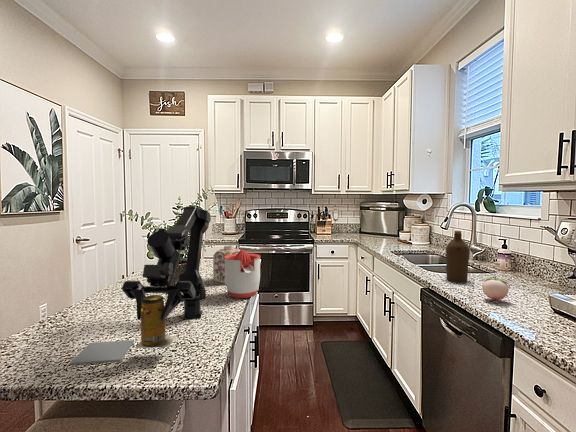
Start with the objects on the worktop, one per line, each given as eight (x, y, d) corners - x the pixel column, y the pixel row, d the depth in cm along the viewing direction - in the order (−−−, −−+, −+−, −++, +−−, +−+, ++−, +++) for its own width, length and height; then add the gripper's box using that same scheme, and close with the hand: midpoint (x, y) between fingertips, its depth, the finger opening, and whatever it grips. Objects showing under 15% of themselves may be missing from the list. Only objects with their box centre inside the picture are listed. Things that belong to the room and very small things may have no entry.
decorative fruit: (482, 302, 135) (482, 277, 134) (481, 296, 142) (481, 273, 142) (510, 305, 131) (510, 280, 130) (507, 299, 138) (508, 275, 137)
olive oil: (473, 282, 167) (474, 231, 165) (454, 283, 165) (455, 232, 164) (459, 277, 177) (460, 229, 176) (440, 278, 175) (441, 230, 174)
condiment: (146, 336, 93) (145, 293, 92) (177, 336, 93) (176, 293, 92) (134, 348, 85) (133, 302, 85) (168, 348, 86) (167, 302, 85)
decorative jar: (212, 281, 170) (212, 245, 169) (230, 277, 179) (230, 243, 178) (228, 285, 162) (227, 248, 162) (246, 280, 171) (245, 245, 170)
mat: (90, 344, 97) (90, 342, 97) (134, 341, 99) (134, 340, 99) (69, 364, 85) (69, 363, 85) (120, 361, 87) (120, 359, 87)
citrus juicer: (230, 303, 134) (230, 253, 133) (220, 292, 150) (220, 247, 149) (267, 298, 141) (267, 251, 139) (254, 288, 156) (253, 245, 155)
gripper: (123, 251, 92) (101, 304, 82) (191, 251, 91) (177, 305, 81) (138, 273, 100) (119, 323, 90) (200, 273, 99) (189, 324, 89)
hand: (150, 319), depth 87 cm, fingers closed on condiment, 6 cm apart
